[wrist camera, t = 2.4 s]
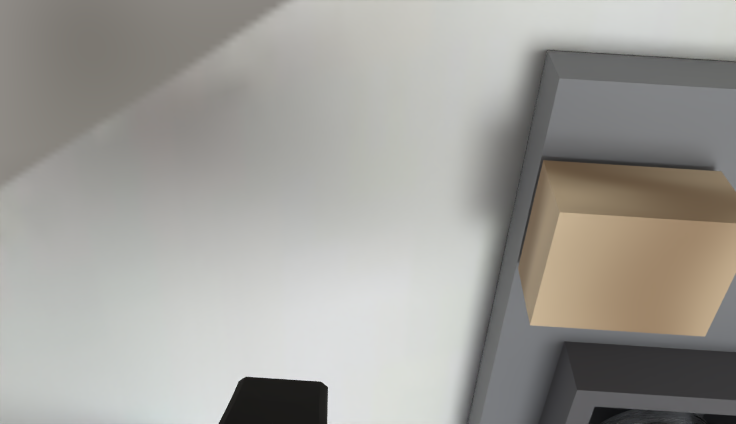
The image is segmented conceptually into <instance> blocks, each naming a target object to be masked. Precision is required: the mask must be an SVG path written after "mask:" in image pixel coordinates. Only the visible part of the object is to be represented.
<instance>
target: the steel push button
mask: <svg viewBox="0 0 736 424" xmlns="http://www.w3.org/2000/svg"><path fill="white" fill-rule="evenodd" d="M601 424H708V422H707V421H705V420H704V419H703V418H702V417H700V416H699V415H697V414H695V413H688V412H672V411H657V410H641V409H633V410H629V411H626V412H623V413H620V414H617V415H615V416H613V417H611V418H609V419H607V420H605V421H604V422H602V423H601Z"/></svg>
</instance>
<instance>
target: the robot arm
mask: <svg viewBox="0 0 736 424" xmlns="http://www.w3.org/2000/svg"><path fill="white" fill-rule="evenodd" d="M327 402H328V387H327V386H326V385H324V384H323V383H322V382H317V381H301V380H286V379H271V378H255V377H245V378H243V379H242V380H240V381H239V382H238V385H237V387H236V389H235V392H234V394H233V396H232V398H231V400H230V402H229V404H228V406H227V408H226V410H225V412H224V414H223V416H222V418H221V420H220V422H219V424H327Z"/></svg>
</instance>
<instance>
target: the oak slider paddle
mask: <svg viewBox="0 0 736 424" xmlns="http://www.w3.org/2000/svg"><path fill="white" fill-rule="evenodd" d="M518 270H519V275H520V280H521V285H522V289H523V294H524V299H525V304H526V309H527V313H528V318H529V323H530V325H533V326H549V327H564V328H580V329H595V330H611V331H627V332H642V333H658V334H673V335H689V336H706V334H707V331H708V329H709V327H710V325H711V323H712V321H713V319H714V317H715V315H716V313H717V311H718V309H719V307H720V305H721V303H722V300H723V298H724V296H725V294H726V292H727V290H728V288H729V286H730V284H731V282H732V280H733V278H734V276H735V274H736V191H735V190H734V189H733V187H732V186H731V184H730V183H729V182H728V180H727V179H726V177H725V176H724V174H723V173H722V172H721V171H708V170H692V169H676V168H660V167H644V166H628V165H612V164H596V163H580V162H564V161H548V160H543V163H542V168H541V172H540V176H539V181H538V185H537V189H536V193H535V198H534V202H533V206H532V211H531V215H530V219H529V223H528V228H527V232H526V236H525V241H524V245H523V249H522V253H521V258H520V262H519V266H518Z"/></svg>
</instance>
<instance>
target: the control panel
mask: <svg viewBox="0 0 736 424" xmlns="http://www.w3.org/2000/svg"><path fill="white" fill-rule="evenodd" d="M543 160H548V161H564V162H580V163H596V164H612V165H628V166H644V167H660V168H676V169H692V170H708V171H721V172H722V173H723V174H724V176H725V177H726V179H727V180H728V182H729V183H730V184H731V186H732V187H733V189H734V190H735V191H736V62H728V61H711V60H695V59H679V58H663V57H646V56H630V55H614V54H598V53H581V52H565V51H549V50H547V55H546V59H545V64H544V69H543V73H542V78H541V83H540V87H539V92H538V97H537V101H536V106H535V111H534V115H533V120H532V125H531V129H530V134H529V139H528V144H527V148H526V153H525V158H524V162H523V167H522V172H521V176H520V181H519V186H518V190H517V195H516V200H515V204H514V209H513V214H512V218H511V223H510V228H509V232H508V237H507V242H506V246H505V251H504V256H503V260H502V265H501V270H500V275H499V279H498V284H497V289H496V293H495V298H494V303H493V307H492V312H491V317H490V321H489V326H488V331H487V335H486V340H485V345H484V349H483V354H482V359H481V363H480V368H479V373H478V377H477V382H476V387H475V391H474V396H473V401H472V406H471V410H470V415H469V420H468V424H601V423H602V422H604V421H605V420H607V419H609V418H611V417H613V416H615V415H617V414H620V413H623V412H626V411H629V410H633V409H641V410H657V411H672V412H688V413H695V414H697V415H699V416H700V417H702V418H703V419H704V420H705V421H707V422H708V424H736V274H735V276H734V278H733V280H732V282H731V284H730V286H729V288H728V290H727V292H726V294H725V296H724V298H723V300H722V303H721V305H720V307H719V309H718V311H717V313H716V315H715V317H714V319H713V321H712V323H711V325H710V327H709V329H708V331H707V334H706V336H689V335H673V334H658V333H642V332H627V331H611V330H595V329H580V328H564V327H549V326H533V325H530V323H529V318H528V313H527V309H526V304H525V299H524V294H523V289H522V285H521V280H520V275H519V270H518V266H519V262H520V258H521V253H522V249H523V245H524V241H525V236H526V232H527V228H528V223H529V219H530V215H531V211H532V206H533V202H534V198H535V193H536V189H537V185H538V181H539V176H540V172H541V168H542V163H543Z"/></svg>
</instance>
